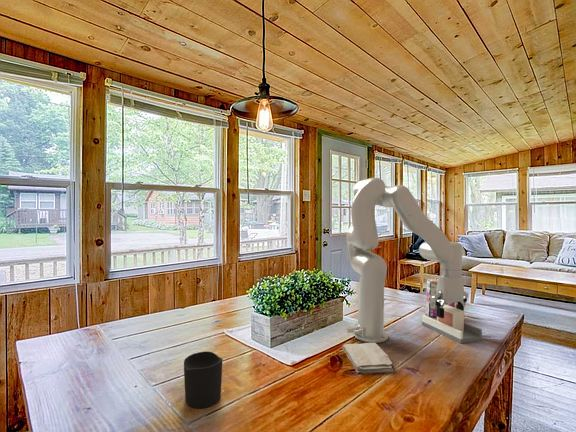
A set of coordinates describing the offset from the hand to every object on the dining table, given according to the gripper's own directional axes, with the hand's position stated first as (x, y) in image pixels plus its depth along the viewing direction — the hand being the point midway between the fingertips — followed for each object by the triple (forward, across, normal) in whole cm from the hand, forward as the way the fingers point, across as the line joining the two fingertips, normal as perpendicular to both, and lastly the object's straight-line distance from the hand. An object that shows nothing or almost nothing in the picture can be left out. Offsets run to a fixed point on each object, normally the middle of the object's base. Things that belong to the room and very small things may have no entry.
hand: (450, 316), depth 129 cm
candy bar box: (+6, -11, -17) cm, 21 cm away
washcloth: (+7, +45, +11) cm, 47 cm away
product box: (+5, 0, 0) cm, 5 cm away
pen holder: (+7, +96, +18) cm, 98 cm away
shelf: (+6, 0, 0) cm, 6 cm away
